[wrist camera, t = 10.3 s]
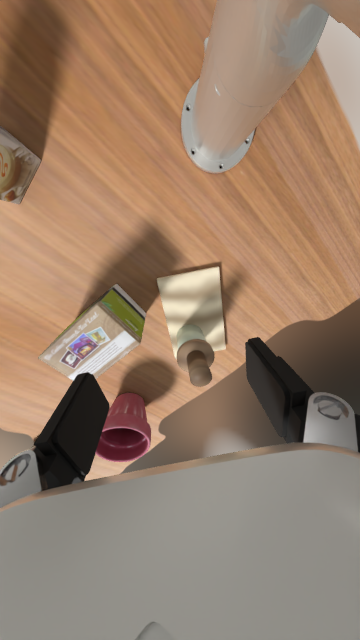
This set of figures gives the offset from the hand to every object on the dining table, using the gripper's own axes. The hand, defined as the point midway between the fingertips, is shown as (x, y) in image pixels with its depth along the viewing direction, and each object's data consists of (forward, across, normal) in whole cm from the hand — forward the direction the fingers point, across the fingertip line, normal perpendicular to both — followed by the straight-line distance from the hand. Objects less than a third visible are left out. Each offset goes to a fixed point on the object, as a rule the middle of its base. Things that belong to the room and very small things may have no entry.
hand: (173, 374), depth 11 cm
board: (+32, -4, +12) cm, 35 cm away
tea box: (+33, +16, +8) cm, 37 cm away
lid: (+23, -2, +17) cm, 29 cm away
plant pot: (+32, +20, +37) cm, 53 cm away
